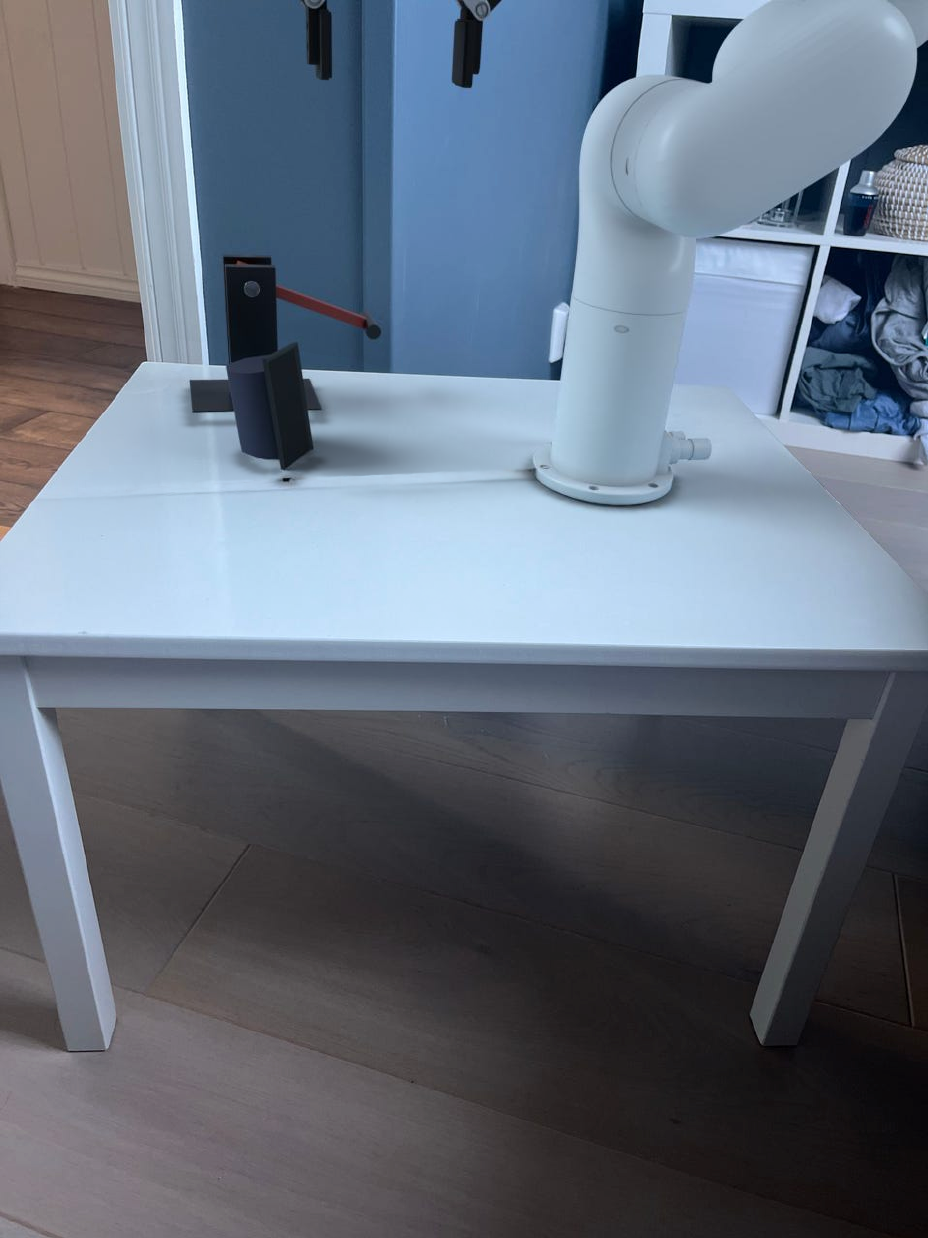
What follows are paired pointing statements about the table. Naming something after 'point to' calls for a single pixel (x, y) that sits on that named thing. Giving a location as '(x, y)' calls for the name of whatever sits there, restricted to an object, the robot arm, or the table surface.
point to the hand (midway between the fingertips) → (393, 82)
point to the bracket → (245, 327)
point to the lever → (329, 310)
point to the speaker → (271, 406)
